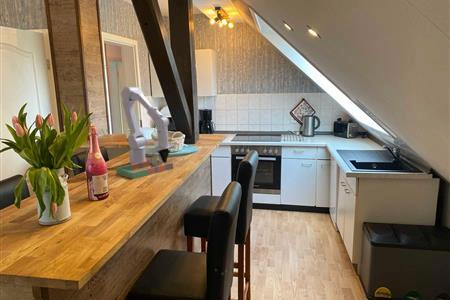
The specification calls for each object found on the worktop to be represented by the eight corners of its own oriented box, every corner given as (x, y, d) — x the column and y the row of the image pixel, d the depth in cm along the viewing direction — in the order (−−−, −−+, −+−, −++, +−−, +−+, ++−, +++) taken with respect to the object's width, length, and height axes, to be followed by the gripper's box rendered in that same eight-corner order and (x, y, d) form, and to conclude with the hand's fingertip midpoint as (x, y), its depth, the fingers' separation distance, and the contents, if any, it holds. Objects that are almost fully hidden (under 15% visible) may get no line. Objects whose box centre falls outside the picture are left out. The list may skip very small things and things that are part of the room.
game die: (153, 174, 183) (148, 158, 187) (167, 168, 183) (162, 152, 187) (148, 170, 175) (142, 153, 178) (163, 163, 175) (157, 147, 178)
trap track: (116, 173, 173) (115, 167, 172) (155, 163, 191) (155, 158, 190) (133, 178, 162) (132, 173, 162) (173, 168, 180) (172, 162, 180)
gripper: (156, 141, 175) (158, 166, 178) (177, 137, 185) (179, 161, 188) (148, 140, 180) (150, 164, 182) (169, 136, 190) (171, 159, 193)
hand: (164, 162), depth 186 cm, fingers closed
